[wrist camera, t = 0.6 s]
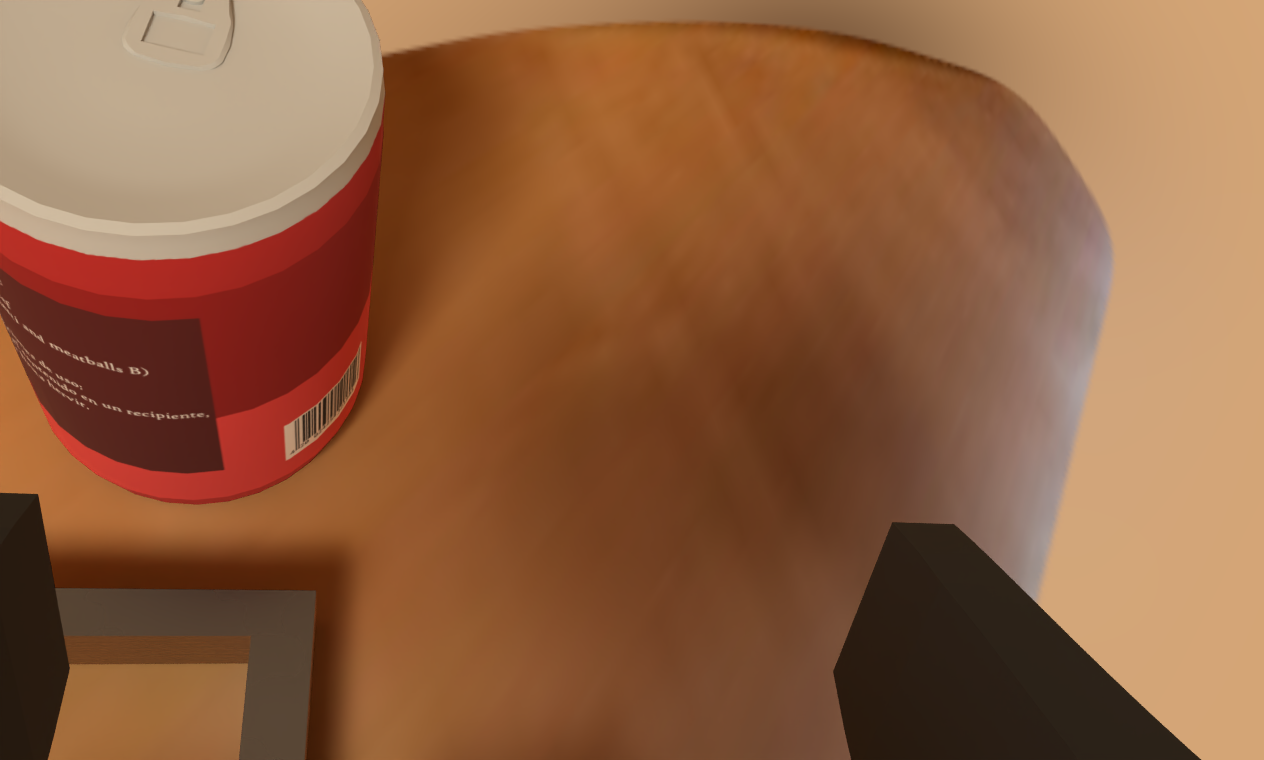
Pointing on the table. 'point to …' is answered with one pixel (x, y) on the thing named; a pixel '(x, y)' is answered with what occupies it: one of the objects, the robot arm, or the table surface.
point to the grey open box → (210, 647)
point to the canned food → (190, 230)
